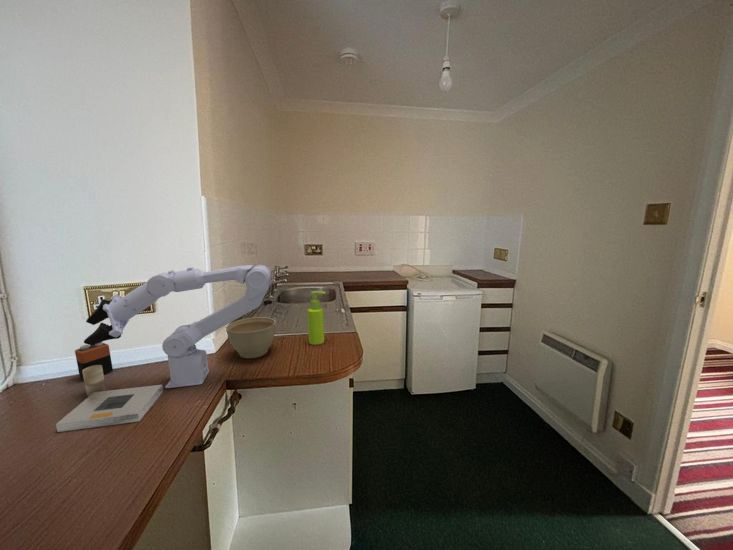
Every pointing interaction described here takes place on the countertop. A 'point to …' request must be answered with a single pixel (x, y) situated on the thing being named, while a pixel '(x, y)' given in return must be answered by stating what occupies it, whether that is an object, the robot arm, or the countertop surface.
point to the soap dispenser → (316, 320)
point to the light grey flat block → (111, 408)
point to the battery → (94, 357)
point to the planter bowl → (251, 336)
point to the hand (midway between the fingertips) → (88, 332)
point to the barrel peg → (94, 379)
